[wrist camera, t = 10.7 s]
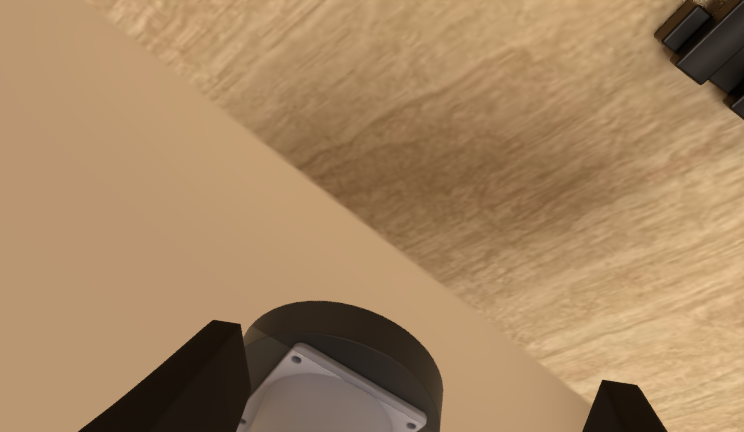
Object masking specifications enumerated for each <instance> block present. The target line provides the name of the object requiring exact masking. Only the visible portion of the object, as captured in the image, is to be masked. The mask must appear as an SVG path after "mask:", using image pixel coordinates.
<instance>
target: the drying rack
mask: <svg viewBox="0 0 744 432" xmlns="http://www.w3.org/2000/svg"><path fill="white" fill-rule="evenodd" d="M655 38H656V39H657V40H658V41H660V42H661V43H662V44H663V45H664V46H666V47H667V48H668V49H669V50H671V51H672V52H673V53H674V55H673V56H672V57H671V58H670V61H671V62H672V63H673V64H674V65H675V66H676V67H677V68H678V69H680V70H681V71H682V72H683V73H685V74H686V75H687V76H689V77H690V78H691V79H692V80H694V81H695V82H696V83H697V84H699V85H702V84H704V83H705V82H706V81H707V80H709V81H710V82H711V83H712V84H714V85H715V86H716V87H717V88H719V89H720V90H721V91H722V92H724V93H725V94H726V95H728V96H726V97H725V98H724V99H723V103H724V104H725V105H726V106H727V107H728V108H729V109H731V110H732V111H733V112H734V113H736V114H737V115H738V116H739V117H741V118H742V119H743V120H744V0H729V1H728V2H727V3H726V4H725V5H724V6H723V7H722V8H721V9H720V10H719V11H718V12H717V13H716V14H715V15H714V16H713V15H712V14H710V13H709V12H708V11H707V10H706V9H704V8H703V7H702V6H701V5H699V4H697V3H696V2H694V1H692V0H688V1H687V2H686V3H685V4H684V5H683V6H682V7H681V8H680V9H679V10H678V11H677V12H676V13H675V14H674V15H673V16H672V17H671V18H670V19H669V20H668V21H667V22H666V23H665V24H664V26H663V27H662V28H661V29H660V30H659V31H658V32H657V33H656V34H655Z"/></svg>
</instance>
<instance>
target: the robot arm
mask: <svg viewBox="0 0 744 432" xmlns="http://www.w3.org/2000/svg"><path fill="white" fill-rule="evenodd" d="M296 356H297V357H296ZM251 389H252V388H251V382H250V376H249V370H248V365H247V359H246V353H245V347H244V342H243V336H242V330H241V325H240V324H237V323H231V322H224V321H218V320H213V321H211V322H210V323H209V324H207V325H206V326H205V327H204V328H203V329H202V330H200V331H199V332H198V333H197V334H196V335H195V336H194V337H192V338H191V339H190V340H189V341H188V342H187V343H186V344H184V345H183V346H182V347H181V348H180V349H179V350H177V351H176V352H175V353H174V354H173V355H172V356H171V357H169V358H168V359H167V360H166V361H165V362H164V363H163V364H161V365H160V366H159V367H158V368H157V369H156V370H154V371H153V372H152V373H151V374H150V375H148V376H147V377H146V378H145V379H144V380H142V381H141V382H140V383H139V384H138V385H137V386H135V387H134V388H133V389H132V390H130V391H129V392H128V393H127V394H126V395H124V396H123V397H122V398H121V399H119V400H118V401H117V402H116V403H114V404H113V405H112V406H111V407H109V408H108V409H107V410H105V411H104V412H103V413H102V414H100V415H99V416H98V417H97V418H95V419H94V420H92V421H91V422H90V423H89V424H87V425H86V426H85V427H83V428H82V429H81V430H80V431H78V432H417V431H418V430H419V429H421V428H422V427H423V426H425V424H426V421H427V416H426V414H425V413H424V412H423V411H421V410H419V409H418V408H416V407H414V406H412V405H411V404H409V403H407V402H406V401H404V400H402V399H400V398H399V397H397V396H395V395H394V394H392V393H390V392H389V391H387V390H385V389H383V388H382V387H380V386H378V385H377V384H375V383H373V382H371V381H370V380H368V379H366V378H365V377H363V376H361V375H359V374H358V373H356V372H354V371H353V370H351V369H349V368H347V367H346V366H344V365H342V364H341V363H339V362H337V361H335V360H334V359H332V358H330V357H329V356H327V355H325V354H323V353H322V352H320V351H318V350H317V349H315V348H313V347H312V346H310V345H308V344H306V343H303V342H299V343H296V344H294V346H293V347H292V348H291V349H290V350H289V351H288V353H287V354H286V355H285V356H284V357H283V359H282V360H281V361H280V362H279V363H278V364H277V366H276V367H275V368H274V369H273V370H272V372H271V373H270V374H269V375H268V376H267V377H266V379H265V380H264V381H263V382H262V383H261V384H260V386H259V387H258V388H257V389H256V390H255V392H254V393H253V394H252V395H251V396H250V397H249V395H250V392H251ZM248 398H249V399H248ZM582 432H667V430H666V429H665V427H664V426H663V424H662V422H661V421H660V419H659V418H658V416H657V415H656V413H655V411H654V410H653V408H652V407H651V405H650V404H649V402H648V400H647V399H646V397H645V396H644V394H643V392H642V391H641V390H640V388H639V387H638V386H637V385H633V384H627V383H620V382H614V381H607V380H602V382H601V385H600V387H599V390H598V392H597V395H596V397H595V400H594V403H593V405H592V408H591V410H590V413H589V416H588V419H587V421H586V423H585V426H584V429H583V431H582Z"/></svg>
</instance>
